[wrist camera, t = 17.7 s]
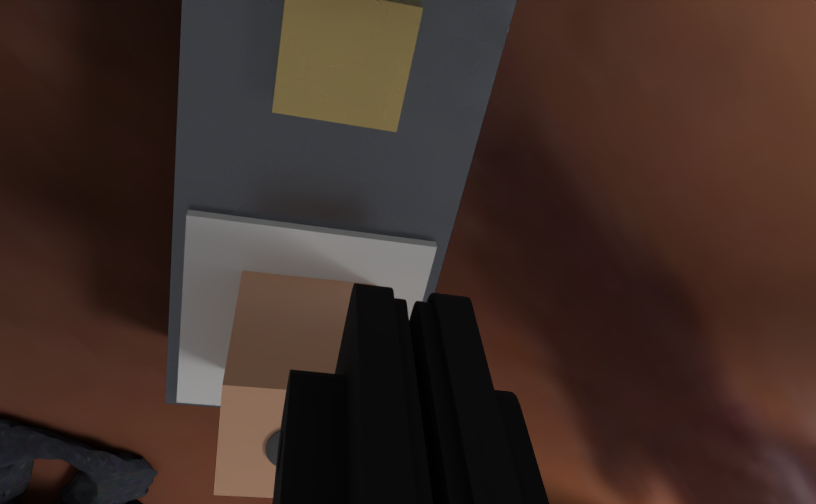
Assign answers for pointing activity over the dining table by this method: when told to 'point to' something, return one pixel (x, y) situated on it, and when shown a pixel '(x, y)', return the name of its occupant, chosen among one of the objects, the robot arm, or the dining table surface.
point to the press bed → (312, 173)
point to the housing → (271, 369)
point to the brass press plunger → (346, 60)
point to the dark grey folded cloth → (98, 470)
